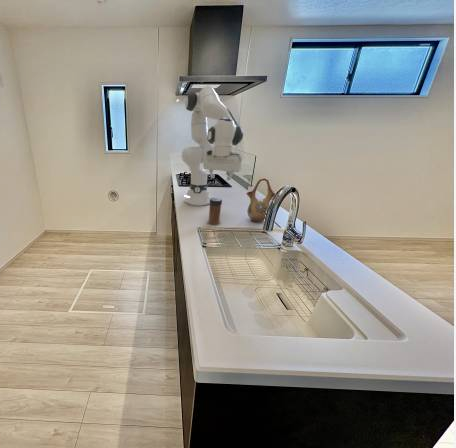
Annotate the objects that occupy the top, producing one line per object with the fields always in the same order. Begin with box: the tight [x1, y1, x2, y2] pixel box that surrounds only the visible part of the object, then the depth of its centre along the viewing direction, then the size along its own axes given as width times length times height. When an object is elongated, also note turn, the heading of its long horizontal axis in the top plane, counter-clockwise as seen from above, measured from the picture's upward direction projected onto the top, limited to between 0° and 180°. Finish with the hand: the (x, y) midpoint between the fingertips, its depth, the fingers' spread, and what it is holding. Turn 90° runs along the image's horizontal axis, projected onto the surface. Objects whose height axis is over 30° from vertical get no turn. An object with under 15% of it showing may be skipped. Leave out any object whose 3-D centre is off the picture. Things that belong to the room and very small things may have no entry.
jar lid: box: [209, 197, 223, 206], centre depth 132 cm, size 7×7×3 cm
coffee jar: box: [207, 204, 222, 226], centre depth 135 cm, size 6×6×13 cm
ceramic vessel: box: [246, 177, 276, 223], centre depth 135 cm, size 16×9×25 cm, turn 87°
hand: (220, 179), depth 127 cm, fingers open, 8 cm apart
